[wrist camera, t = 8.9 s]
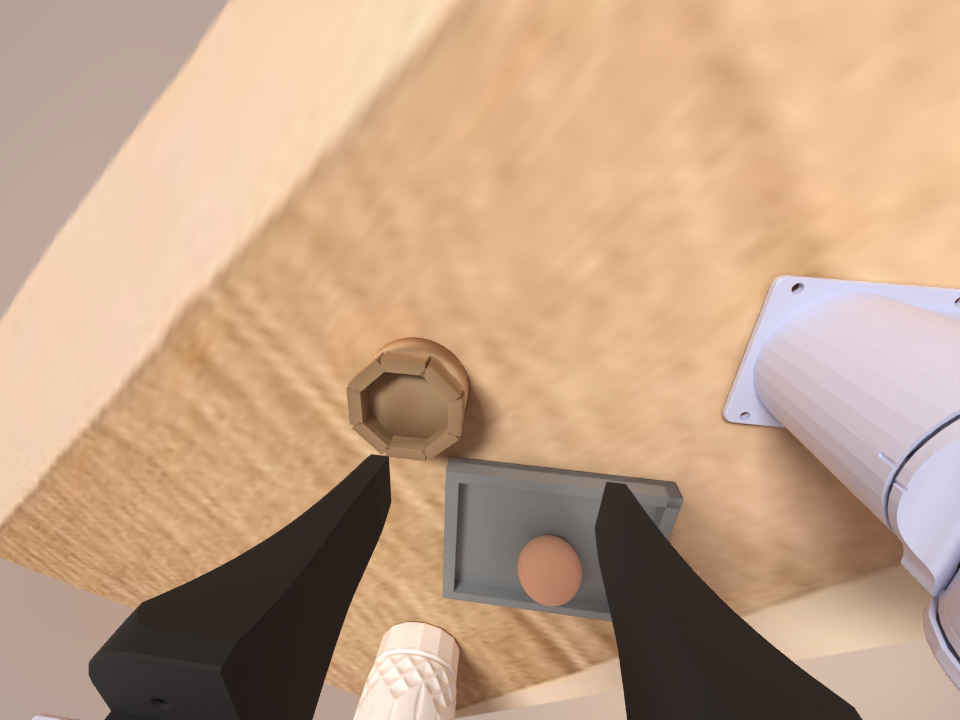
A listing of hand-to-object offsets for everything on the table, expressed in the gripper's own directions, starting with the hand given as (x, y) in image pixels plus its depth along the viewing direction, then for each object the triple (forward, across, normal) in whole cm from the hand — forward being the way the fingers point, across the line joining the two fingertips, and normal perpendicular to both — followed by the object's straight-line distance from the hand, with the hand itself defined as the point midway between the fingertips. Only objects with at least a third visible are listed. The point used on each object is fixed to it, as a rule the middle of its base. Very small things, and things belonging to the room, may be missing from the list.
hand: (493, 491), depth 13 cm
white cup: (+10, +5, +28) cm, 30 cm away
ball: (+9, -4, +13) cm, 17 cm away
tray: (+10, -4, +13) cm, 17 cm away
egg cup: (+10, +5, +2) cm, 11 cm away
